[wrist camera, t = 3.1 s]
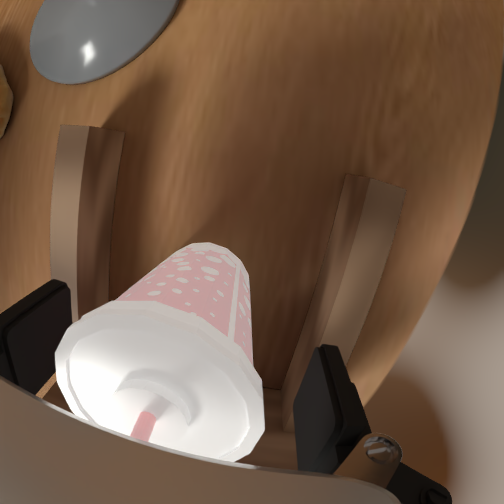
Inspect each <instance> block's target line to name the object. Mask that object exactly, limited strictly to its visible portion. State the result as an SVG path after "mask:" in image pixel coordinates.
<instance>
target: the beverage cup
mask: <svg viewBox="0 0 504 504" xmlns="http://www.w3.org/2000/svg"><path fill="white" fill-rule="evenodd" d="M55 365H56V376H57V383H58V385H59V387H60V389H61V391H62V393H63V395H64V397H65V399H66V401H67V403H68V405H69V407H70V409H71V410H72V412H73V413H74V414H75V415H77V416H79V417H81V418H84V419H86V420H88V421H91V422H93V423H96V424H98V425H101V426H103V427H106V428H109V429H111V430H114V431H117V432H119V433H122V434H125V435H128V436H131V437H134V438H137V439H140V440H143V441H147V442H150V443H153V444H157V445H160V446H164V447H167V448H171V449H175V450H179V451H182V452H187V453H191V454H195V455H199V456H204V457H209V458H214V459H219V460H224V461H230V462H235V461H237V460H239V459H241V458H242V457H244V456H246V455H248V454H250V453H251V451H252V450H253V448H254V447H255V445H256V443H257V442H258V440H259V439H260V437H261V436H262V434H263V432H264V431H265V419H264V404H263V390H262V379H261V378H260V376H259V375H258V373H257V372H256V370H255V369H254V367H253V349H252V326H251V303H250V285H249V275H248V273H247V271H246V269H245V267H244V265H243V263H242V262H241V260H240V259H239V258H238V257H237V256H235V255H234V254H233V253H232V252H231V251H229V250H228V249H227V248H225V247H222V246H219V245H216V244H213V243H210V242H207V243H192V244H190V245H188V246H186V247H184V248H182V249H180V250H178V251H176V252H175V253H173V254H172V255H171V256H170V257H168V258H167V259H166V260H164V261H163V262H162V263H161V264H159V265H158V266H157V267H156V268H154V269H153V270H152V271H150V272H149V273H148V274H147V275H145V276H144V277H143V278H142V279H140V280H139V281H138V282H137V283H135V284H134V285H133V286H132V287H131V288H129V289H128V290H127V291H126V292H124V293H123V294H122V295H121V296H119V297H118V298H117V299H116V300H115V301H110V302H108V303H106V304H104V305H102V306H100V307H98V308H97V309H95V310H93V311H91V312H89V313H87V314H85V315H83V316H82V318H81V319H80V320H79V321H77V322H75V323H73V324H72V325H71V326H70V327H69V328H68V329H67V330H66V332H65V334H64V336H63V338H62V340H61V342H60V344H59V346H58V348H57V350H56V352H55Z"/></svg>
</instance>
